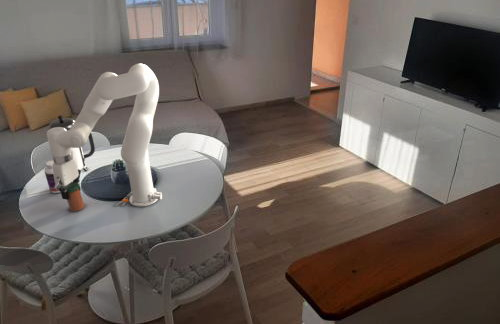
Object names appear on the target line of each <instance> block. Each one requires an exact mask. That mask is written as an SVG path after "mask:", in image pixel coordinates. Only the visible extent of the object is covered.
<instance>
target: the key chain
mask: <svg viewBox="0 0 500 324" xmlns="http://www.w3.org/2000/svg"><path fill="white" fill-rule="evenodd" d="M125 196H126V197H124V198H123V199H121V201H119V202H117V203H116V204H115V205H114V206H118V205H120V204H121V206H122V207H123V206H125V204H127V203H129V199H130V197H131V196H132V191H131V190H130V192H129V193H128V194H127V195H125Z"/></svg>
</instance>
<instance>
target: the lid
mask: <svg viewBox="0 0 500 324" xmlns="http://www.w3.org/2000/svg"><path fill="white" fill-rule="evenodd" d="M79 185H80V182H79V183H78V182H73V181H72V182H71V183H69V184H68V185H67V191H68V193H72V192H75V191H77V190H78V189H79V187H80V188H81V185H80V186H79ZM62 188H63V189H64V186H62Z"/></svg>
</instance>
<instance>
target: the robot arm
mask: <svg viewBox="0 0 500 324" xmlns="http://www.w3.org/2000/svg"><path fill="white" fill-rule="evenodd" d="M159 84H160V83H159V80H158V78H157V76H156V74H155V73H154V71H153V70H152V69H151V68H150V67H149V66H148V65H146V64H143V63H135V64H134V65H132V66H130V68H129V70H128V72H126V73H122V74H116V73H114V72H111V71H106V72H103V73H102V74H101V75H100V76H99V78H98V79H97V80H96V82H95V84H94V86H93V87H92V89H91V91H90V92H89V94H88V96H87V97H86V99H85V100H84V102H83V106H82V109H81V111H80V112H79V114H78V115H77V117H76V118H75V120H74V121H75V122H74V124H73V125H72V127H71V129H70V130H68V131H67V130H66V129H65V128H63V127H55V128H52V129H49V128H48V130H47V131H46V137H47V141H48V145H49V149H50V153H51V157H52V160H53V161H54V163H53V175H54V180H55V187H54V189H56V190H58V191H60V192H61V193H60V194H61V195H60V196H61V198H62V200H66V201H67V200H69V199H70V197H69V193H68V191H67V185H68V184H69V183H71V182H78V183H79V186H80V187H79V190H80V191H81V190H82V189H81V184H80V181H81V180H80V178H81V173H82V169H81V170H79V169H78V168H77V165H76V162H75V159H74V157H73V155H72V150H71V147H72V148H79V147H84V146H85V145H86V144H87V141H88V140H89V138H88V137H89V135H90V133H91V134H92V131H93V130H94V128H95V126H96V124H97V123H98V121H99V120H100V118H101V117H103V116H104V115H105V114H106V112H107V111H108V109H109V107H110V106H111V104H112V103H113V101H114V100H119V99H124V98H128V97H131V96H135V95H136V96H135V99H134V105H133V107H132V108H133V109H132V112H131V114H130V117H129V119H128V123H127V127H126V131H125V135H124V137H123V141H122V144H121V149H120V157H121V160H122V161H123V162H124V163H125V164H126V170H127V176H128V180H129V185H130V192H131V191H132V196H131V197H130V199H128V202H129V203H130V205H131V206H134V207H137V208H138V207H139V208H141V207H148V206H152V205H154V203H156V202H157V201H158V200H160V201H161V200H162V199H163V193H162V192H158V191H157V188H155V187H154V182H153V177H152V170H151V164H150V163H151V162H150V157H149V145H150V141H151V138H152V135H153V131H154V130H153V129H154V117H155V114H156V110H157V107H158V102H159V97H160V85H159ZM62 186H64V189H63V188H62Z"/></svg>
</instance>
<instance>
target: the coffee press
mask: <svg viewBox="0 0 500 324" xmlns="http://www.w3.org/2000/svg"><path fill="white" fill-rule="evenodd" d="M74 122H75V120H74V119H73V118H69V117H64V116H63V115H62V114H59V115H58V116H57V119H54V120H53V121H51V122H50V123H49V126H48V130H49V129H52V128H55V127H63V128H65V129H66V130H67V131H68V130H70V129H71V127H72V125H73V124H74ZM88 143H89V146H90V150H89V152H88V153H86V154H84V152H83V148H82V147H83V146H82V147H79V148H72V147H71V150H72V155H73V157H74V159H75V162H76V165H77V168H78V169H79V170H81V171H82V170H83V171H84V172H88V170H89V167H88V166H87V165H86V159H87V158H90V157H91V156H93V155H94V153H95V151H96V147H95V142H94V137H93V134H92V132H91V133H90V135H89V137H88Z"/></svg>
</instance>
